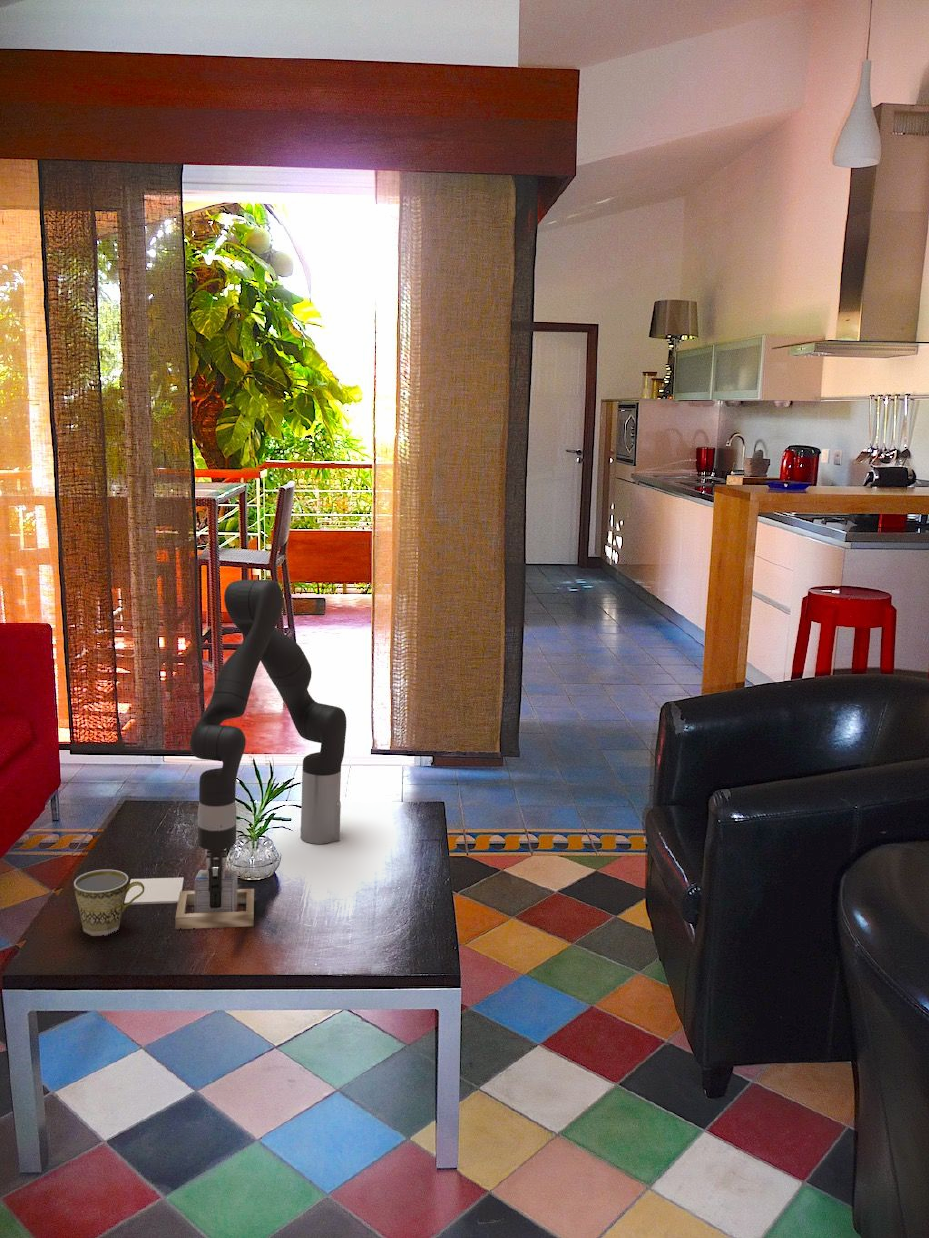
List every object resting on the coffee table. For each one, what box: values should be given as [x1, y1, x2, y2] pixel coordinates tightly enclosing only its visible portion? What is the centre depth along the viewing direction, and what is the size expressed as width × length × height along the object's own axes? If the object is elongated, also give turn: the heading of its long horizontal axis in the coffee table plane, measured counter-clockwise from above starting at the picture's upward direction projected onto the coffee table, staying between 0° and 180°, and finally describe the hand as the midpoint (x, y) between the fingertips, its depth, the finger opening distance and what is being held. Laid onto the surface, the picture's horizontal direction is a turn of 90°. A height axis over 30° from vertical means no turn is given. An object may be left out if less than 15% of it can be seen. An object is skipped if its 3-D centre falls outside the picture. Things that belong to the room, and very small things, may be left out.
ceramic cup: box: [73, 869, 145, 937], centre depth 197 cm, size 13×10×10 cm
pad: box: [124, 876, 185, 906], centre depth 214 cm, size 11×11×1 cm
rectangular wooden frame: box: [174, 888, 255, 930], centre depth 206 cm, size 15×12×2 cm
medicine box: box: [193, 869, 238, 913], centre depth 205 cm, size 8×4×9 cm, turn 92°
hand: (216, 900), depth 206 cm, fingers closed on medicine box, 5 cm apart
